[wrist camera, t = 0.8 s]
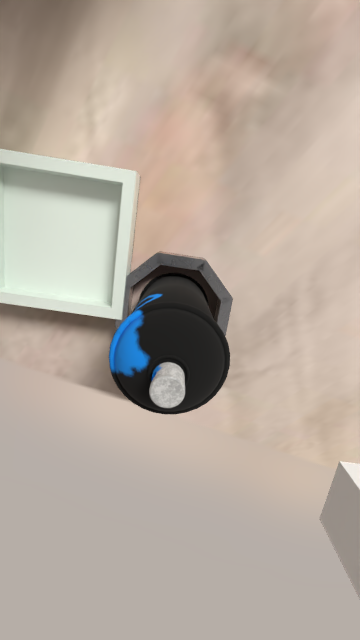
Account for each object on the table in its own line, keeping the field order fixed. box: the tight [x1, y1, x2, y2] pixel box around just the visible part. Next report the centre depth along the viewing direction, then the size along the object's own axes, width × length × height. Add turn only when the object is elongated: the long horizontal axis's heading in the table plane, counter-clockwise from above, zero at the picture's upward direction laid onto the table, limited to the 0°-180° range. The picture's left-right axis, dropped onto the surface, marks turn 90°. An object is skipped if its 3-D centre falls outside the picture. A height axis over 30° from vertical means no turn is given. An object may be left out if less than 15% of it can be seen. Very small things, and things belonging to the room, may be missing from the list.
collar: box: [115, 251, 233, 335], centre depth 34 cm, size 12×12×2 cm
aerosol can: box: [109, 273, 230, 414], centre depth 26 cm, size 8×8×20 cm
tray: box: [0, 149, 140, 320], centre depth 32 cm, size 15×15×3 cm
